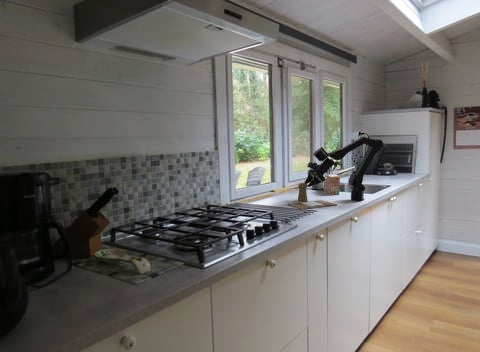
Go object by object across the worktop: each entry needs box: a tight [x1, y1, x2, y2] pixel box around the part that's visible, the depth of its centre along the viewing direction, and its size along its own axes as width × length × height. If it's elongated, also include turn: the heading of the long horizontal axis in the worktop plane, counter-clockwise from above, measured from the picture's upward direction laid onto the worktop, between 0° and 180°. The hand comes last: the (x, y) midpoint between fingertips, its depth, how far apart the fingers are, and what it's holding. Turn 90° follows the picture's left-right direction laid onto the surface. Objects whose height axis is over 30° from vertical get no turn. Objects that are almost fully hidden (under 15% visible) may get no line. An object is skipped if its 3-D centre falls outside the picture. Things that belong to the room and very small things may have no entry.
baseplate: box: [287, 199, 338, 211], centre depth 209 cm, size 24×14×1 cm, turn 117°
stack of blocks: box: [323, 174, 341, 196], centre depth 253 cm, size 21×6×12 cm, turn 179°
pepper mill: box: [297, 182, 309, 203], centre depth 221 cm, size 6×6×11 cm
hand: (306, 185), depth 220 cm, fingers open, 9 cm apart
